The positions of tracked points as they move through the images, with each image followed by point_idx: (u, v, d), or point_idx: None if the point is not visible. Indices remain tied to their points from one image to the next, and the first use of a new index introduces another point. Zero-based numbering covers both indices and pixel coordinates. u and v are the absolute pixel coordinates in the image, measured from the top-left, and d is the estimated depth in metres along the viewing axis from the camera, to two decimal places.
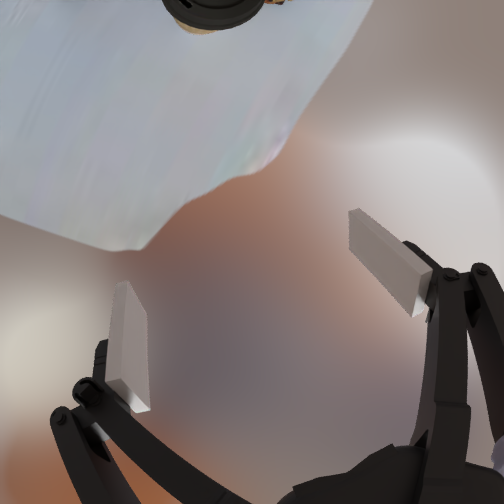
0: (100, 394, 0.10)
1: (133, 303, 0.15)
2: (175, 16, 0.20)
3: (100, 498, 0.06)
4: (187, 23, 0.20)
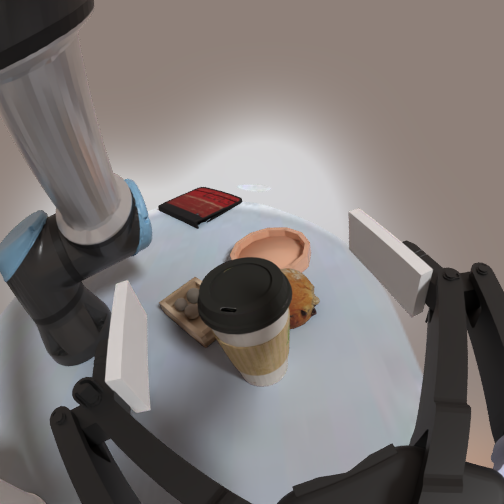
0: (100, 394, 0.10)
1: (133, 303, 0.15)
2: (231, 331, 0.27)
3: (100, 498, 0.06)
4: (245, 330, 0.27)
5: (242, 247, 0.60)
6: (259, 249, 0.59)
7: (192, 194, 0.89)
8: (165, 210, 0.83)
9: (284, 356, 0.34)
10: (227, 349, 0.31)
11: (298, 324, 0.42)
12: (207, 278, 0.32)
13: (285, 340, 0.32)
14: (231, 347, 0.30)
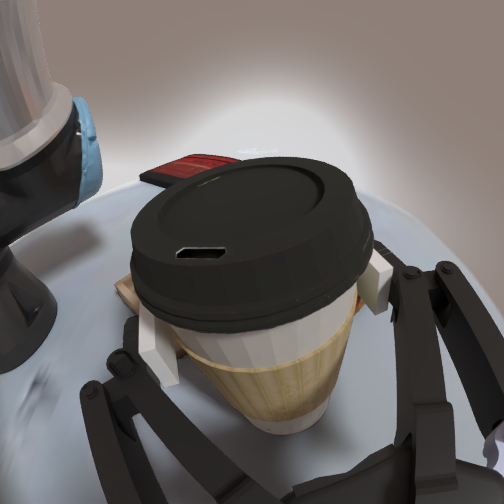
0: (134, 366, 0.11)
1: None
2: (208, 324, 0.08)
3: (120, 477, 0.07)
4: (254, 319, 0.08)
5: None
6: None
7: (181, 160, 0.70)
8: (146, 178, 0.64)
9: (335, 380, 0.15)
10: (207, 371, 0.12)
11: None
12: (160, 196, 0.13)
13: (345, 346, 0.13)
14: (215, 368, 0.11)
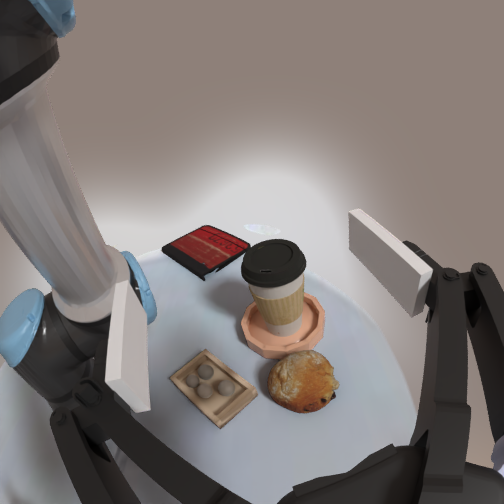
0: (100, 394, 0.10)
1: (133, 303, 0.15)
2: (267, 285, 0.42)
3: (100, 498, 0.06)
4: (277, 284, 0.42)
5: (253, 312, 0.56)
6: None
7: (197, 234, 0.85)
8: (169, 254, 0.80)
9: (300, 310, 0.48)
10: (262, 303, 0.46)
11: (317, 409, 0.38)
12: (247, 253, 0.46)
13: (301, 296, 0.47)
14: (265, 300, 0.45)
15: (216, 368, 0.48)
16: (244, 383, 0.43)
